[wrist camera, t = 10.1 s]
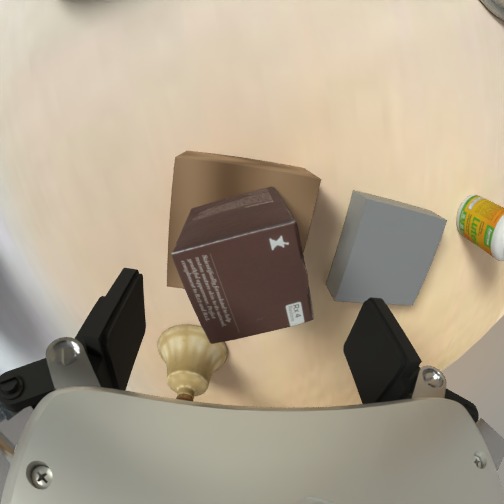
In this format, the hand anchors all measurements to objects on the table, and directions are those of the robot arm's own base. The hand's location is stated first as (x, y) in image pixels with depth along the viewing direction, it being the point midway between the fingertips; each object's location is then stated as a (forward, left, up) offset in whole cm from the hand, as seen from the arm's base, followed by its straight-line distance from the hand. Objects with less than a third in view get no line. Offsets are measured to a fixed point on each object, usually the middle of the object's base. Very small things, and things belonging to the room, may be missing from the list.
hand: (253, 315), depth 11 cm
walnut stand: (0, +1, -15) cm, 15 cm away
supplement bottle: (-27, -4, -15) cm, 31 cm away
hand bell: (+3, +18, -15) cm, 23 cm away
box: (0, 0, -10) cm, 10 cm away
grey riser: (-15, +2, -15) cm, 21 cm away
